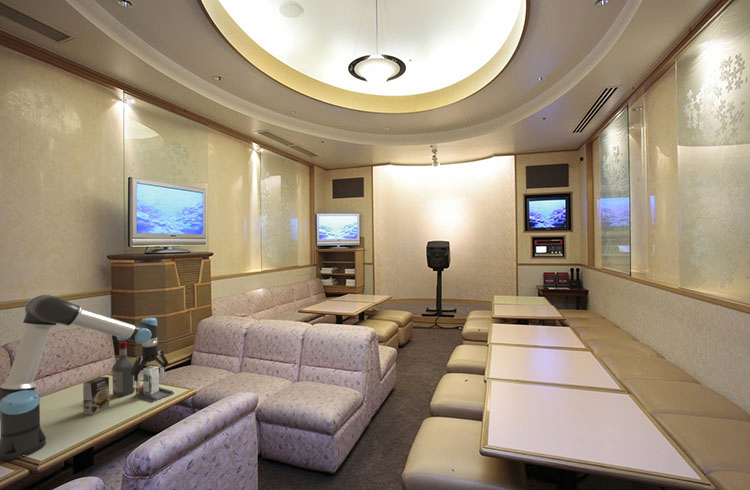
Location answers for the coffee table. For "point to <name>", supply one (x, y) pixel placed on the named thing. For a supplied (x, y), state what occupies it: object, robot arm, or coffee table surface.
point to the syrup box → (150, 380)
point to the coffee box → (96, 395)
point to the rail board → (153, 397)
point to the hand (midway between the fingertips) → (150, 382)
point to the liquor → (123, 373)
